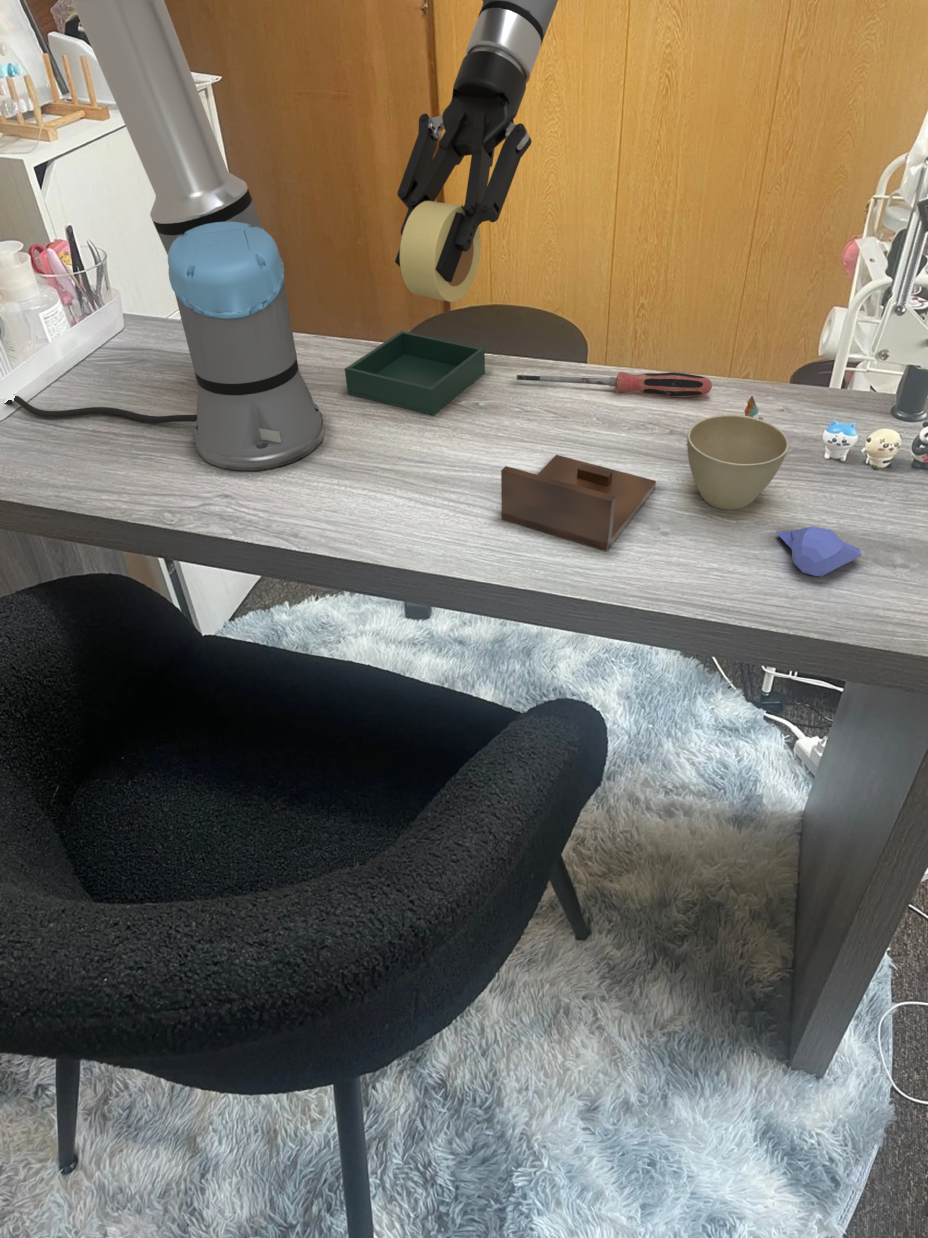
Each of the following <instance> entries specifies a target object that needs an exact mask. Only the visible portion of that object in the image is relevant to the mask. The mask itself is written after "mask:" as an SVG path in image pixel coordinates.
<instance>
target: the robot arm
mask: <svg viewBox="0 0 928 1238" xmlns="http://www.w3.org/2000/svg"><path fill="white" fill-rule="evenodd" d="M70 1H71V3H72V5H73V8H74V10H75V13H76V14H77V17H78V19H79V21H80V24H81V25H82V29H83V30H84V33H85V35H86V38H87V40H88V43H89V45H90V46H91V49H92V51H93V54H94V56H95V58H96V61H97V63H98V65H99V67H100V70H101V72H102V74H103V75H102V76H103V77H104V79H105V81H106V84H107V86H108V89H109V91H110V94H111V95H112V97H113V100H114V102H115V104H116V107H117V109H118V111H119V114H120V116H121V118H122V121H123V123H124V125H125V127H126V131H127V132H128V134H129V136H130V139H131V141H132V144H133V146H134V149H135V151H136V153H137V155H138V157H139V160H140V162H141V165H142V167H143V169H144V171H145V174H146V176H147V177H148V181H149V183H150V185H151V187H152V190H153V192H154V194H155V198H154V201H153V205H152V207H151V210H150V213H149V214H150V215H149V216H150V219H151V221H152V224H153V226H154V228H155V230H156V233H157V234H158V237H159V240H160V242H161V244H162V247H164V250H165V252H166V255H167V265H168V280H169V283H170V287H171V289H172V291H173V292H174V295H175V298H176V303H177V309H178V311H179V316H180V320H181V322H182V328H183V331H184V337H185V339H186V343H187V347H188V352H189V356H190V359H191V363H192V368H193V371H194V375H195V379H196V383H197V397H196V398H197V399H196V414H171V415H170V414H169V415H149V414H148V415H147V414H142V413H137V412H133V411H130V410H126V409H121V408H117V407H116V408H115V407H108V406H94V407H93V406H91V407H80V408H73V409H72V408H71V409H63V410H44V409H39V408H36V407H34V406H33V405H31V404H29V403H28V402H27V401H25V400H24V399H23V398H22V397H20V396H19V395H17V396H15V398H14V401H12V400H8V401H7V402H6V403H4V402H3V404H4V405H8V406H9V405H12V403H13V402H15V403H16V404H18V405H19V406H20V407H22V408H23V409H24V410H26V412H28V413H30V414H32V415H34V416H37V417H40V418H49V419H50V418H55V419H56V418H57V419H58V418H69V417H77V416H85V415H111V416H118V417H123V418H127V419H131V420H135V421H138V422H143V423H151V424H163V423H164V424H165V423H183V422H185V423H186V422H189V423H190V422H191V423H194V428H193V429H194V430H193V431H194V432H193V436H194V440H195V444H196V448H197V451H198V454H199V456H200V457H201V458H202V459H203V460H204V461H206V462H207V463H209V464H211V465H213V466H215V467H219V468H222V469H226V470H231V471H261V470H267V469H274V468H278V467H282V466H285V465H288V464H291V463H294V462H297V461H298V460H300V459H302V458H304V457H305V456H307V455H308V454H310V453H312V452H313V451H314V450H315V449H316V448H317V447H318V446H319V445H320V444H321V443H322V441H323V439H324V435H325V426H324V421H323V414H322V412H321V410H320V408H319V406H318V405H317V404H316V402H315V401H314V400H313V397H312V394H311V392H310V389H309V388H308V385H307V384H306V382H305V380H304V378H303V376H302V375H301V372H300V368H299V363H298V357H297V351H296V344H295V338H294V333H293V326H292V320H291V315H290V309H289V303H288V297H287V289H286V285H285V266H284V262H283V259H282V256H281V254H280V251H279V247H278V244H277V243H276V241H275V240H274V238H273V237H272V235H270V234H269V232H267V231H266V230H265V228H264V227H263V224H262V222H261V220H260V217H259V214H258V212H257V208H256V206H255V203H254V201H253V200H254V199H253V197H252V195H251V193H250V190H249V187H248V184H247V182H246V181H245V180H243V179H241V177H240V178H239V177H238V176H236V175H234V174H232V173H231V172H230V171H228V170H229V169H228V168H227V166H226V163H225V160H224V157H223V154H222V152H221V149H220V146H219V143H218V141H217V139H216V136H215V133H214V131H213V128H212V125H211V122H210V119H209V117H208V114H207V111H206V108H205V106H204V103H203V101H202V98H201V96H200V93H199V90H198V88H197V85H196V83H195V80H194V77H193V73H192V71H191V68H190V66H189V64H188V60H187V58H186V55H185V53H184V50H183V48H182V45H181V42H180V39H179V36H178V34H177V31H176V29H175V26H174V23H173V20H172V18H171V15H170V13H169V11H168V7H167V5H166V1H165V0H70ZM481 1H482V5H481V8H480V11H479V13H478V16H477V20H476V22H475V24H474V27H473V29H472V33H471V35H470V38H469V41H468V43H467V46H466V49H465V56H464V57H463V58H462V61H461V64H460V66H459V70H458V72H457V74H456V77H455V80H454V83H453V86H452V95H451V101H450V102H449V104H448V105H447V106H446V107H445V109H444V110H443V112H442V114H440V115H436V116H433V117H430V115H428V113H422V114H421V115H420V116H419V117H418V130H417V131H418V133H417V136H416V140H415V142H414V145H413V147H412V150H411V154H410V156H409V159H408V162H407V165H406V167H405V170H404V173H403V175H402V177H401V181H400V185H399V187H398V190H397V193H396V194H397V197H398V198H399V199H400V201H401V202H402V203H403V204H404V206H405V207H406V208H407V211H406V215H405V218H404V220H403V223H402V225H401V229H400V235H401V236H402V234H403V230H404V227H405V224H406V222H407V220H408V218H409V216H410V214H411V213H412V211H413V210H414V209H415V207H417V206H418V205H419V204H420V203H422V202H425V201H433V202H436V200H437V197H438V196H439V194H440V193H441V191H442V189H443V188H444V186H445V184H446V182H447V181H448V179H449V177H450V176H451V174H452V172H453V170H454V169H455V168H456V166H459V165H460V164H461V163H462V161H463V159H464V157H466V156H471V157H470V158H471V159H470V164H469V165H470V166H469V172H468V177H467V179H468V180H467V185H466V193H465V200H464V204H460V206H461V207H462V209H463V211H464V212H465V215H463V214H462V213H459V212H456V214H455V216H454V219H453V222H452V225H451V227H450V230H449V233H448V236H447V238H446V241H445V244H444V247H443V250H442V252H441V255H440V258H439V261H438V263H437V266H436V270H437V272H438V273H439V274H440V275H441V276H442V277H443V279H444V280H445V281H448V282H452V279H453V276H454V274H455V271H456V268H457V265H458V263H459V260H460V257H461V254H462V252H463V251H466V252H467V251H468V250H469V249H470V247H471V244H472V241H473V239H474V236H475V233H476V230H477V228H478V226H479V227H480V225H481V224H482V223H484V222H490V223H495V222H497V221H498V220H499V218H500V216H501V213H502V210H503V208H504V204H505V202H506V199H507V198H508V197H507V196H508V194H509V191H510V188H511V186H512V182H513V180H514V178H515V174H516V172H517V169H518V166H519V165H520V161H521V159H522V157H523V156H524V154H525V153H526V152H527V151H528V149H529V147H530V146H531V145H532V142H533V141H532V138H531V136H530V135H529V132H528V130H527V129H526V126H525V125H524V123H520V122H519V123H517V124H515V122H514V119H515V118H516V117H517V115H518V113H519V109H520V107H521V104H522V102H523V98H524V96H525V94H526V90H527V84H528V83H529V81H530V79H531V76H532V73H533V70H534V67H535V64H536V62H537V59H538V57H539V54H540V51H541V48H542V45H543V42H544V39H545V36H546V33H547V32H548V31H547V30H548V28H549V25H550V24H551V23H550V22H551V20H552V18H553V15H554V12H555V10H556V7H557V5H558V3H559V0H481ZM443 131H444V133H443V135H442V132H443ZM441 135H442V136H441ZM503 141H504V142H503ZM502 142H503V143H502ZM501 143H502V145H501V148H500V151H499V154H498V157H497V159H496V162H495V165H494V157H495V150H496V147H498V146H499V145H500V144H501ZM437 147H438V149H437ZM436 150H437V151H436ZM493 165H494V168H493V170H492V173H491V176H490V170H491V168H492V167H493ZM489 176H490V177H489ZM463 206H464V207H463ZM394 262H395V264H396V265H397V266H398V267H399V268H400V248H399V249H398V252H397V254H396V257H395V260H394Z"/></svg>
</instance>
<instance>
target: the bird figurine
mask: <svg viewBox="0 0 928 1238" xmlns="http://www.w3.org/2000/svg"><path fill="white" fill-rule="evenodd" d="M775 533H776V534H777V535H778V536H779V537H780V538H781V539H782V541H783V542H784V543H785V544H786V545H787V546H788V548H790V550H791V558H792V559H791V560H792V563H793V564H794V565H795V566H796V567H797V568H798V569H799V570H800V572H802V573H804V574H807V575H811V576H814V577H823V576H825V575H827V574H829V573H830V572H833V571H835V570H836V569H839V568H841V567H843V566H845V565H847V564H849V563H851V562H853V561H854V560H856V559H858V558H860V557H861V556H862V552H861V548H860V547H858V546H855V545H853V544H850V543H848V542H846V541H843V540H842V539H841V538H840V537H839V536H838V534H836V533H835V531H834V530H832V529H829V528H824V527H819V526H807V527H803V528H798V529H794V530H788V531H787V530H785V531H776V532H775Z"/></svg>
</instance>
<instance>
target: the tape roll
mask: <svg viewBox="0 0 928 1238" xmlns="http://www.w3.org/2000/svg"><path fill="white" fill-rule="evenodd" d="M463 207H464V205H463ZM456 212H459V213H462V214H463V215H465V212H464V211H463V209H462V207H461V204H454V203H453V204H452V203H446V202H439V201H434V202H433V201H425V202H422V203H420V204H419V205H418V206H417V207H415V209H414V210H413V211H412V213H411V214H410V216H409V218H408V220H407V222H406V224H405V227H404V230H403V234H402V235H401V238H400V245H399V249H400V267H399V268H400V273H401V277H402V280H403V282H404V285H405V286H406V288H407V290H408V291H409V292H410V293H412V294H413V295H415V296H418V297H423V298H428V299H433V300H438V301H443V302H448V303H456V302H458V301H460V300H461V299H462V298H464V296H465V295H466V294H467V293H468V292H469V290H470V288H471V287H472V285H473V283H474V280H475V278H476V276H477V273H478V268H479V264H480V259H481V250H482V249H481V247H482V240H481V239H482V237H481V229H480V225H479V226H478V228H477V230H476V233H475V236H474V239H473V241H472V244H471V247H470V249H469V250H468V251H467V252H466V251H463V252H462V254H461V257H460V260H459V263H458V265H457V268H456V271H455V274H454V276H453V279H452V282H448V281H445V280H444V279H443V277H442V276H441V275H440V274H439V273H438V272H437V270H436V266H437V263H438V261H439V258H440V255H441V252H442V250H443V247H444V244H445V241H446V238H447V236H448V233H449V230H450V227H451V225H452V222H453V219H454V216H455V214H456Z"/></svg>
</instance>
